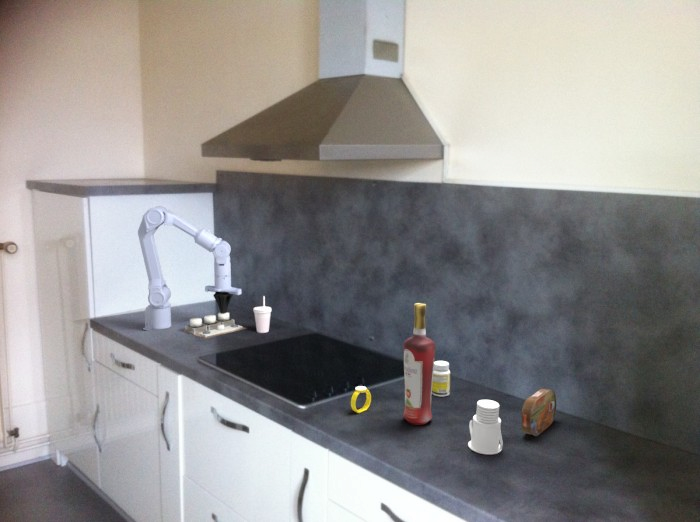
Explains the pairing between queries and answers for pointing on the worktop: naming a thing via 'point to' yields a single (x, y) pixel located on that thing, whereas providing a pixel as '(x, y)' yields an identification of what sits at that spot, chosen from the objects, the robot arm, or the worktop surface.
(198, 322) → the button near
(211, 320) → the button mid
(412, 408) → the liquor
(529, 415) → the tin
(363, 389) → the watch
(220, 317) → the button far
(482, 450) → the downlight
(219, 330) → the strip
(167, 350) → the worktop surface
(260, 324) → the smoothie
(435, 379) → the supplement bottle
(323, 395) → the worktop surface
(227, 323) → the console
